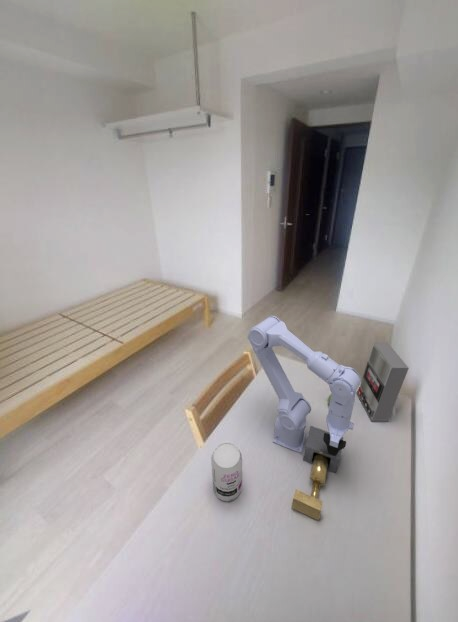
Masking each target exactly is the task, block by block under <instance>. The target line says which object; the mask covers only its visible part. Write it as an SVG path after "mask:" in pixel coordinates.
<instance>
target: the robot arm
mask: <svg viewBox="0 0 458 622" xmlns="http://www.w3.org/2000/svg"><path fill="white" fill-rule="evenodd" d="M247 334H248V335H247V339H248V341H249V343H250V345H251V346H252V350H253V353H254V354H255V356H256V358H257V360H258V362H259V363H260V365H261V367H262V370H263V371H264V373H265V375H266V377H267V378H268V381H269V382H270V385H271V386H272V389H273V390H274V392H275V394H276V395H277V398H278V403H277V409H276V411H277V413H278V414H277V417H276V420H275V423H274V430H273V437H272V438H273V439H272V442H273V443H274V444H277V445H279V446H281V447H285V448H286V449H289V450H292V451H294V452H295V453H296V452H297V453H302V451H303V447H304V444H305V443H304V442H305V439H306V435H307V433H306V425H307V416H308V415H309V414H311V412H312V406H311V403H310V402H309V401H308V400H307V399H306V398H305V397H304V395H303V393H302V392H299V391H295V390H294V387H293V385H292V384H291V381H290V380H289V378H288V377H287V374H286V372H285V371H284V369H283V366H282V365H281V363H280V361H279V359H278V356H277V355H276V352H275V351H274V350H273V348H274V347H280V346H282V347H283V348H285V349H287V350H288V351H289V352H291V353H292V354H294V355H296V357H299V358H300V359H302V360H303V361H304V362H306V367H307V369H308V370H310V371H311V372H312V373H313V374H314V375H316V376H317V377H318V378H319V379H321V380H322V381H323V382H325V383H326V384H327V385H328V387H329V391H330V390H331V391H330V395H331V399H330V404H329V406H328V412H327V415H326V417H325V419H326V425H327V429H328V432H329V434H327V433H324V437H323V440H324V442H325V443H326V445H327V451H328V454H331V455H333V456H336V455H337V454H338V452H339V451H340V450H341V449H342V450H344V449H345V448H346V445H347V441H346V440H344V439H343V440H341V438H342V437H343V438H344V435H346V433H347V432H348V430H354V427H355V423H354V422H352V421H351V418H352V412H353V409H354V405H355V400H356V399H355V398H356V395H357V393H356V392H357V391H358V389H359V387H360V385H361V382H362V377H361V375H360V374H359V373H358V371H357V370H356V369H355V368H354V367H350V366H346V365H343V364H339V363H338V362H336V360H333V359H332V358H330V357H329V355H328V354H326V353H323V352H322V351H321V350H320V351H318V350H317V351H314V350H313V349H311V348H310V347H309V346H308V345H306V344H305V343H304V342H303V341H302V340H301V339H300V338H298V337H297V336H296V335H294V334H293V333H292V332H291V331H290V330H289V329H288V326H287V325H286V323H285V322H284V321H282V320H280V318H278V317H277V316H276V315H268V316H267V317H266V318H265V319H264V320H262V321H261V322H259V323H258V324H256V325H255V326H253V327H251V328H250V329H249V331H248V333H247Z"/></svg>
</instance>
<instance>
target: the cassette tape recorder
mask: <svg viewBox="0 0 458 622" xmlns="http://www.w3.org/2000/svg"><path fill="white" fill-rule="evenodd" d="M409 368H410V367H409V366H408V365H407V364H406V363H405V362H404V360H403V359H402V358H401V357H400V355H399V354H398V353H397V352H396V351H395V350H394V348H393V347H392V346H391V344H390V343H389V342H372V346H371V349H370V352H369V356H368V358H367V361H366V366H365V369H364V371H363V372H364V373H363V374H362V377H361V383H360V385H359V386H358V388H357V390H356V395H357V397H358V399H359V400H360V402H361V405H362V406H363V408H364V411H365V412H366V414H367V416H368V418H369V420H370V422H372V423H373V422H374V423H375V422H378V423H379V422H380V423H388V422H389V420H390V416H391V413H392V411H393V408H394V407H395V404H396V401H397V399H398V396H399V394H400V391H401V389H402V386H403V383H404V381H405V380H406V376H407V374H408V371H409Z"/></svg>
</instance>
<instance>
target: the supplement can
mask: <svg viewBox="0 0 458 622" xmlns="http://www.w3.org/2000/svg"><path fill="white" fill-rule="evenodd" d="M210 459H211V460H210V461H211V473H212V474H211V475H212V486H213V489H212V490H213V491H214V492H213V493H214V495H215V496H216V497H217V499H219V500H221V501H223V502H232V501H234V500H236V499H237V498H238V497H239V496H240V495H241V492H242V489H243V454H242V452H241V451H240V449H239V448H238V446H236V445H235V444H234V443H231V442H223V443H220V444H219V445H217V446H216V447H215V449H214V451H213V452H212V454H211V457H210Z"/></svg>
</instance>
